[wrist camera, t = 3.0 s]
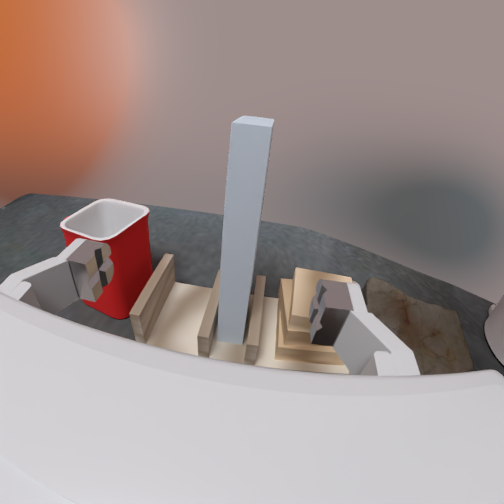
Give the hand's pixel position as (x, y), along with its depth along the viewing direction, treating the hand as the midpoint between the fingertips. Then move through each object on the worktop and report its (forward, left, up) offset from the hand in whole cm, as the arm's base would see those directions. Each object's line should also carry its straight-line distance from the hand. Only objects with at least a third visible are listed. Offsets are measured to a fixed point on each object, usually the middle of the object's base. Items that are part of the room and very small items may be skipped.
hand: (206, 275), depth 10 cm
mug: (+17, -16, -17) cm, 29 cm away
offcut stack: (-8, -13, -16) cm, 22 cm away
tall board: (0, -13, -16) cm, 20 cm away
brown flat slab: (-22, -13, -18) cm, 31 cm away
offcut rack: (-2, -13, -17) cm, 21 cm away
